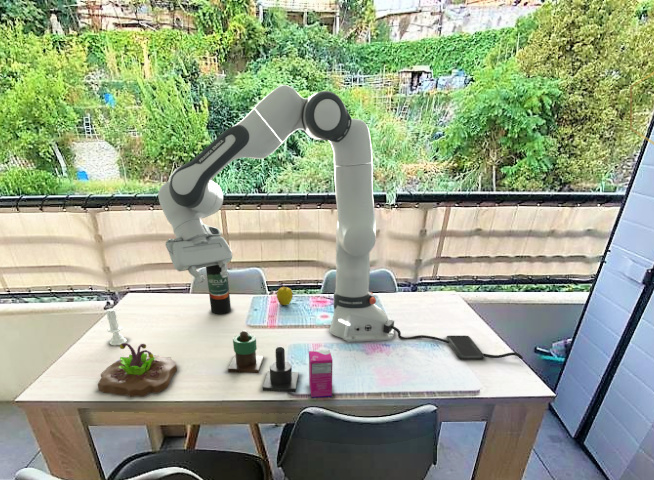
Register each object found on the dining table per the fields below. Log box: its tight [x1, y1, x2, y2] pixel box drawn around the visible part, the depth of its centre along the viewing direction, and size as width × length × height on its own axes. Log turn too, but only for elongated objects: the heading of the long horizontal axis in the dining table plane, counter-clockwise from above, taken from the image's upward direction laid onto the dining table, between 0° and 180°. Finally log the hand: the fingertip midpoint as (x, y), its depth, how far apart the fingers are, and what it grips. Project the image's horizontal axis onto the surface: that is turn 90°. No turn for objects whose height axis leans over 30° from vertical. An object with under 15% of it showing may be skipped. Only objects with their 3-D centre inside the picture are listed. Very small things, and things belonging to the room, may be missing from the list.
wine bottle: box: [205, 265, 232, 316], centre depth 155 cm, size 8×8×30 cm
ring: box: [232, 333, 258, 355], centre depth 122 cm, size 6×6×4 cm
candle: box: [105, 308, 128, 346], centre depth 136 cm, size 5×5×12 cm
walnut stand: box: [227, 330, 265, 374], centre depth 123 cm, size 9×9×11 cm
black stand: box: [261, 345, 300, 393], centre depth 114 cm, size 9×9×11 cm
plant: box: [97, 342, 178, 398], centre depth 116 cm, size 20×20×11 cm
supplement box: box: [308, 349, 334, 399], centre depth 110 cm, size 6×6×12 cm
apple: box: [276, 286, 294, 306], centre depth 167 cm, size 6×6×8 cm
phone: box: [445, 335, 485, 360], centre depth 135 cm, size 8×1×15 cm
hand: (214, 278), depth 123 cm, fingers open, 8 cm apart
